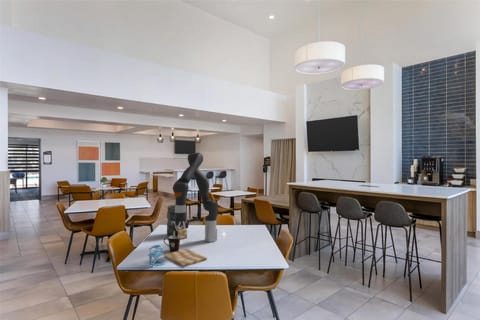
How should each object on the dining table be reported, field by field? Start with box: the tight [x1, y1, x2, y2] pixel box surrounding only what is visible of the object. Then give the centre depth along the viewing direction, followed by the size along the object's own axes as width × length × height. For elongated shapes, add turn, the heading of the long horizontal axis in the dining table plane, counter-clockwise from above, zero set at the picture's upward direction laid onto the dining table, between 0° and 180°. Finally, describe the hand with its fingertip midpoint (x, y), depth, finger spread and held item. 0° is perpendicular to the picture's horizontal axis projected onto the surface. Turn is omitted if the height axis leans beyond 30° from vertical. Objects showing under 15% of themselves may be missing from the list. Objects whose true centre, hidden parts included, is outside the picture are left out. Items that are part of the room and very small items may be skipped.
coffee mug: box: [163, 235, 181, 253], centre depth 198 cm, size 12×9×10 cm
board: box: [163, 248, 208, 268], centre depth 182 cm, size 18×24×2 cm
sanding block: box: [173, 227, 188, 241], centre depth 187 cm, size 5×9×6 cm, turn 46°
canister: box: [166, 204, 182, 237], centre depth 236 cm, size 16×16×28 cm
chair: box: [147, 244, 166, 268], centre depth 170 cm, size 8×8×12 cm
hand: (180, 235), depth 187 cm, fingers closed on sanding block, 5 cm apart
